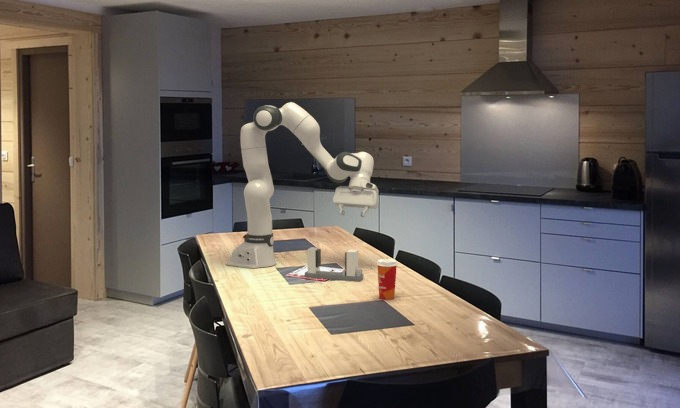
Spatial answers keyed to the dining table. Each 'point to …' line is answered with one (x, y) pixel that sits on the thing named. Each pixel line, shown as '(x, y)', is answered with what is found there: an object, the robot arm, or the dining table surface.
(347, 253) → the block
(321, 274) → the rail
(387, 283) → the paper cup
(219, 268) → the dining table surface
